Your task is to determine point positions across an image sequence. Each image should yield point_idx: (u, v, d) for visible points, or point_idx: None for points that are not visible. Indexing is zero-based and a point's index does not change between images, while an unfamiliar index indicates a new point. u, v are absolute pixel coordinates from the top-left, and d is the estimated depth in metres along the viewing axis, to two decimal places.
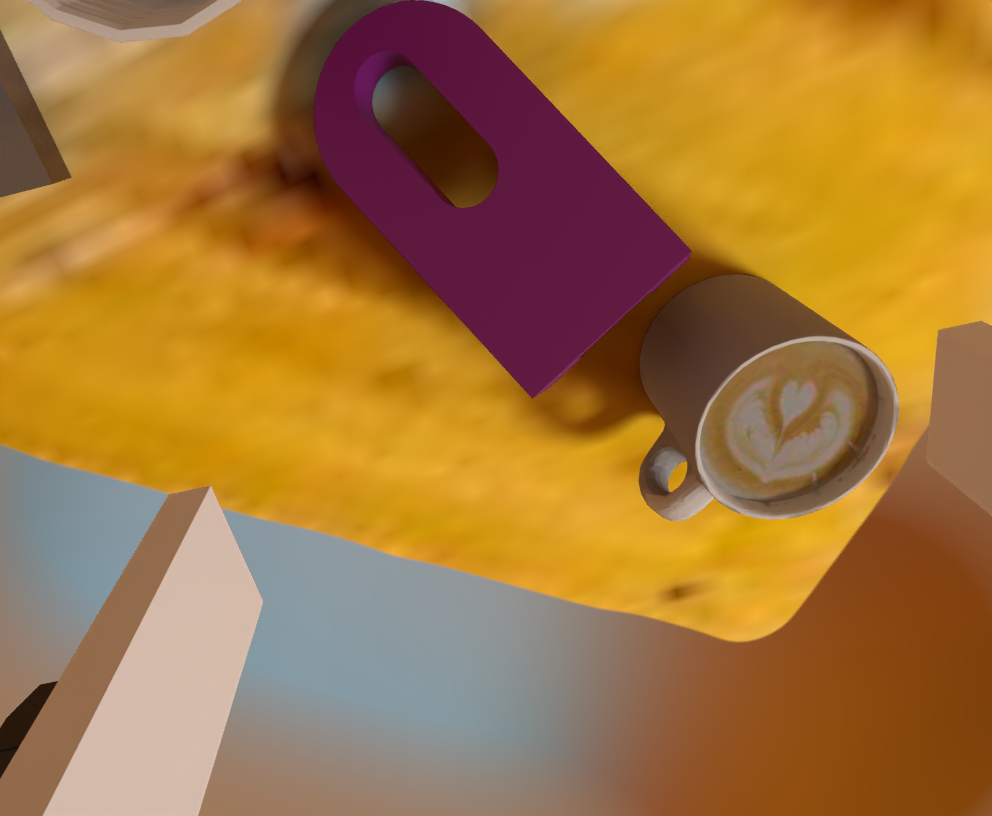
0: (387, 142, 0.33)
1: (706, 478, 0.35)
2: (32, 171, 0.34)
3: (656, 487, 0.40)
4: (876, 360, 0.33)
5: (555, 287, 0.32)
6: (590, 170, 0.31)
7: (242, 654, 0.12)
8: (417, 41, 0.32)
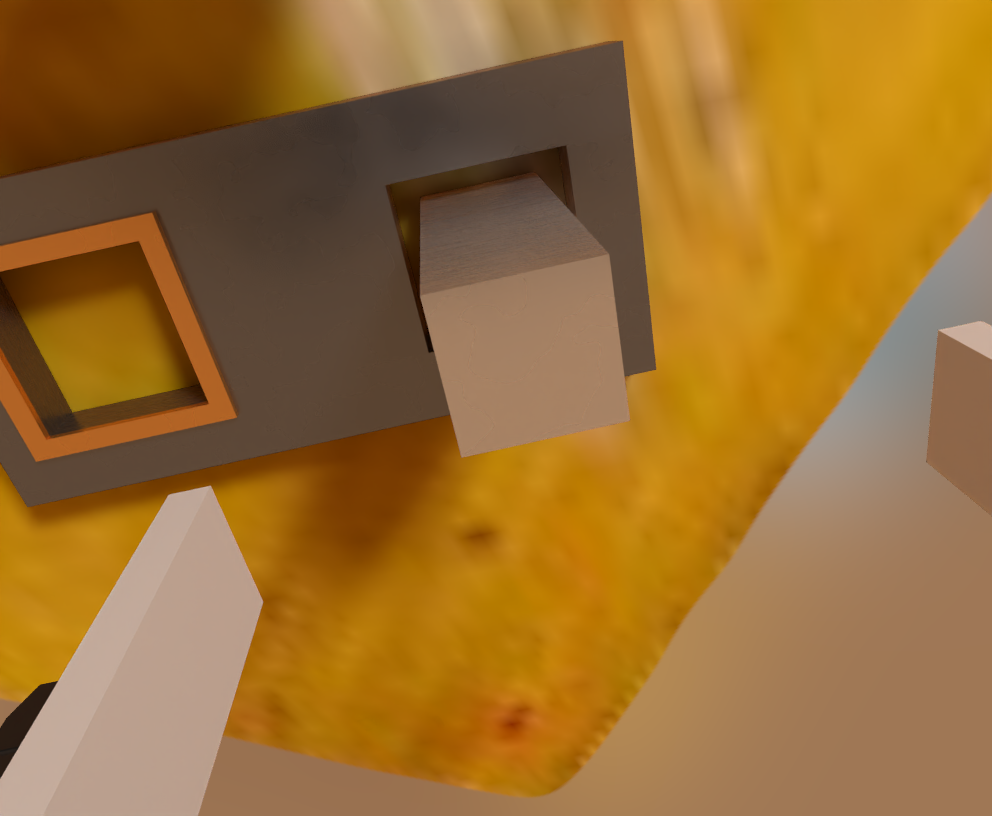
0: None
1: None
2: (603, 66, 0.24)
3: None
4: None
5: None
6: None
7: (242, 654, 0.12)
8: None
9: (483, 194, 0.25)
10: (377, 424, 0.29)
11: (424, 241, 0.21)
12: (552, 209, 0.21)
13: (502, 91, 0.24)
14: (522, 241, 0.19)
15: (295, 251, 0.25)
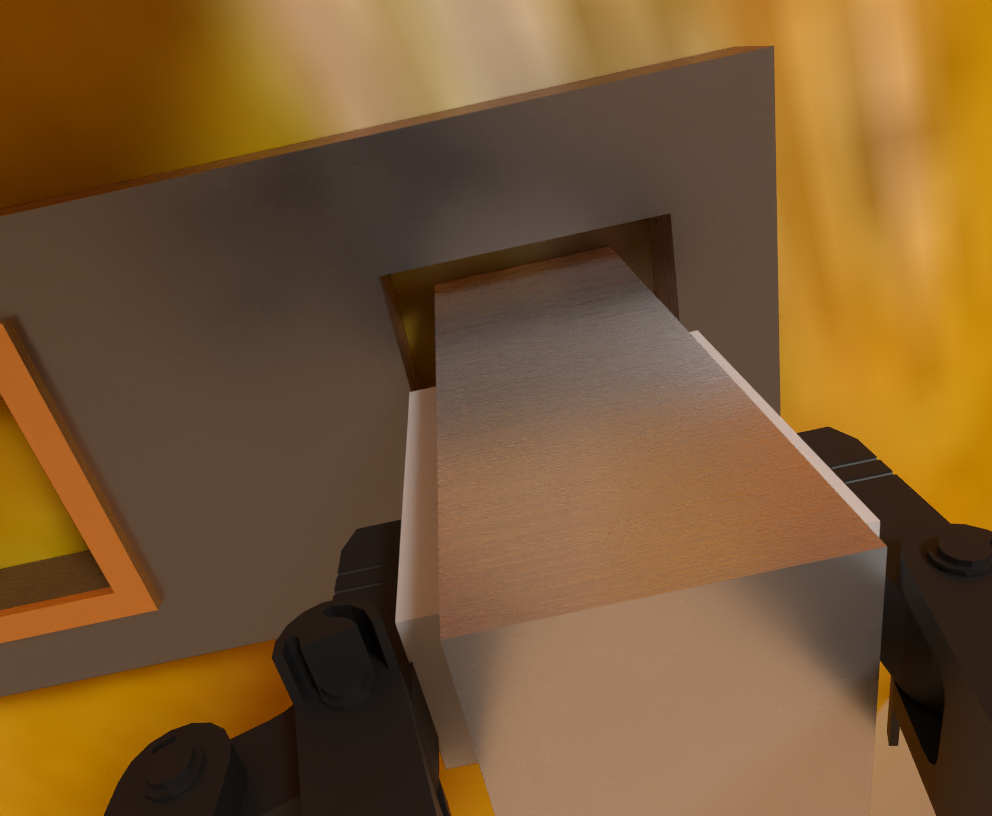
0: None
1: None
2: (739, 87, 0.14)
3: None
4: None
5: None
6: None
7: None
8: None
9: (535, 289, 0.16)
10: None
11: (444, 409, 0.11)
12: (674, 348, 0.12)
13: (571, 130, 0.14)
14: (642, 445, 0.09)
15: (237, 376, 0.16)
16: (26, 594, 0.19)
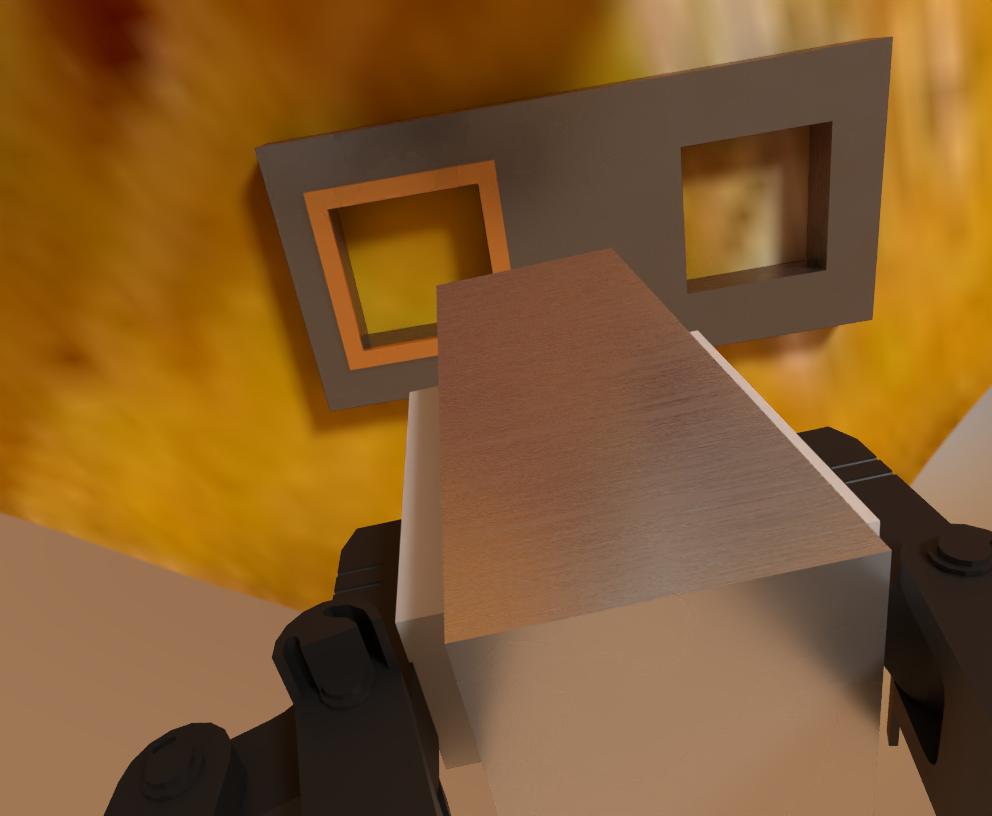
0: None
1: None
2: (874, 56, 0.29)
3: None
4: None
5: None
6: None
7: None
8: None
9: (537, 291, 0.16)
10: None
11: (447, 412, 0.11)
12: (677, 350, 0.12)
13: (789, 74, 0.29)
14: (646, 448, 0.09)
15: (597, 199, 0.31)
16: None
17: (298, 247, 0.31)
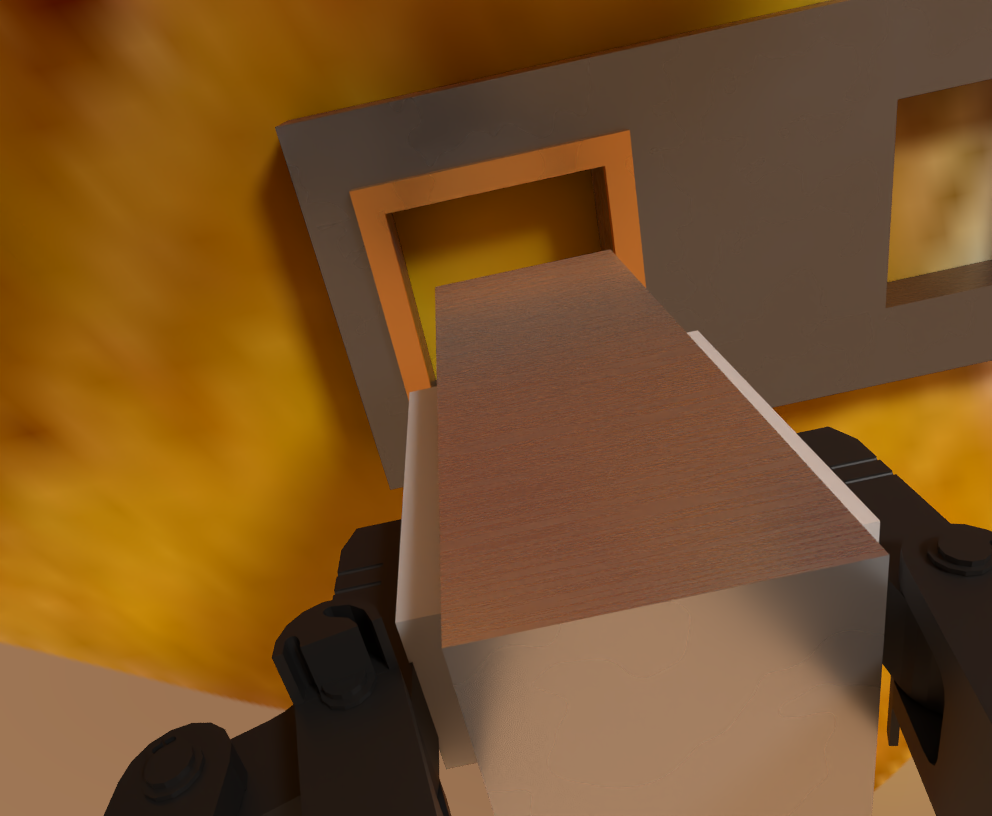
0: None
1: None
2: None
3: None
4: None
5: None
6: None
7: None
8: None
9: (536, 293, 0.16)
10: (803, 394, 0.25)
11: (445, 414, 0.11)
12: (675, 352, 0.12)
13: None
14: (644, 451, 0.09)
15: (772, 181, 0.21)
16: None
17: (343, 270, 0.21)
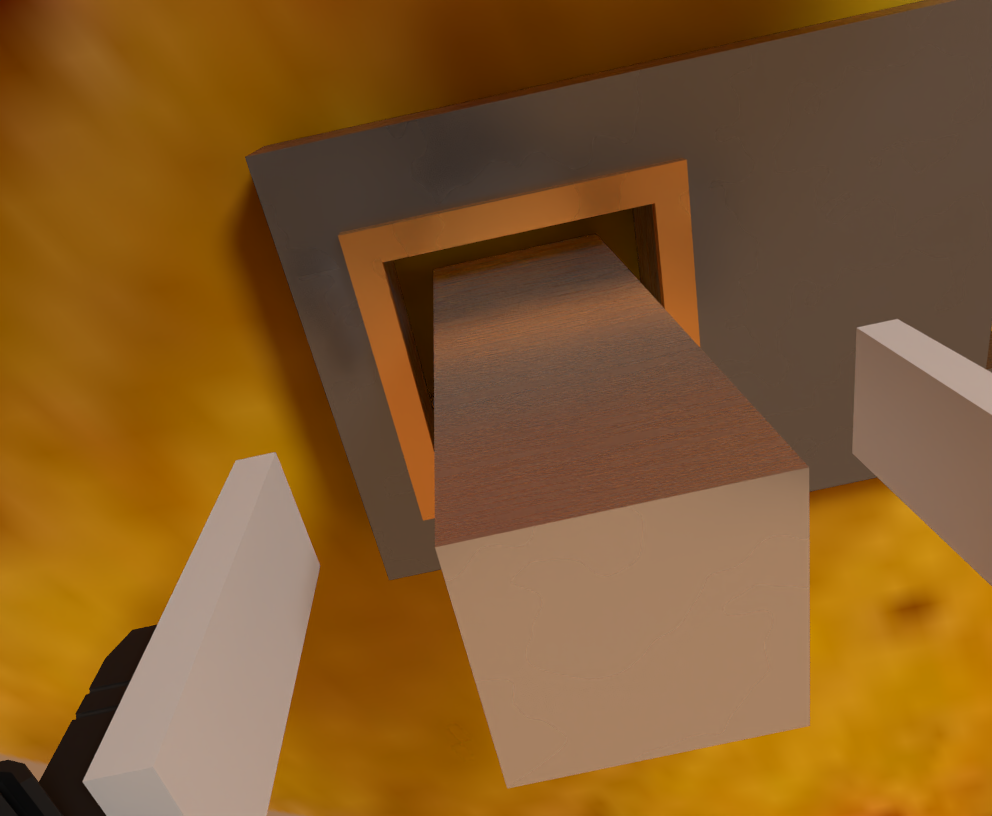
0: None
1: None
2: None
3: None
4: None
5: None
6: None
7: (306, 611, 0.13)
8: None
9: (526, 272, 0.17)
10: None
11: (441, 374, 0.13)
12: (647, 318, 0.13)
13: None
14: (612, 397, 0.11)
15: (857, 221, 0.17)
16: None
17: (331, 328, 0.17)
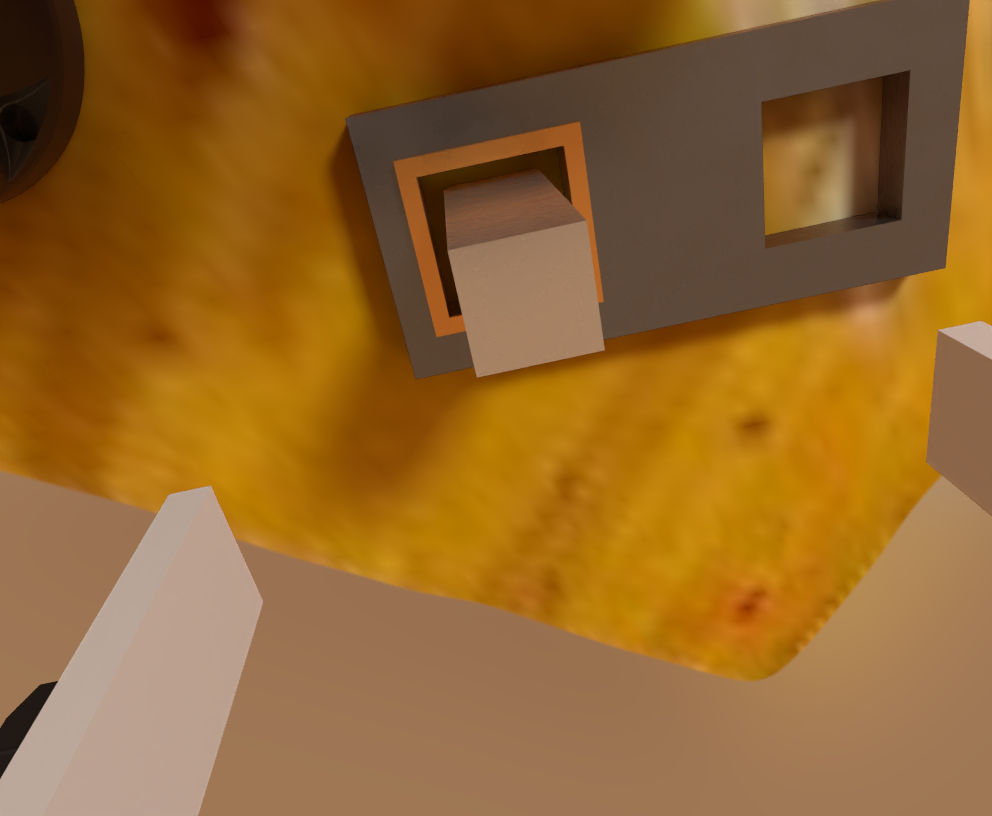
0: None
1: None
2: (952, 3, 0.29)
3: None
4: None
5: None
6: None
7: (242, 654, 0.12)
8: None
9: (495, 184, 0.31)
10: (710, 312, 0.34)
11: (448, 217, 0.27)
12: (548, 193, 0.27)
13: (868, 24, 0.29)
14: (523, 214, 0.25)
15: (678, 157, 0.31)
16: None
17: (386, 216, 0.31)
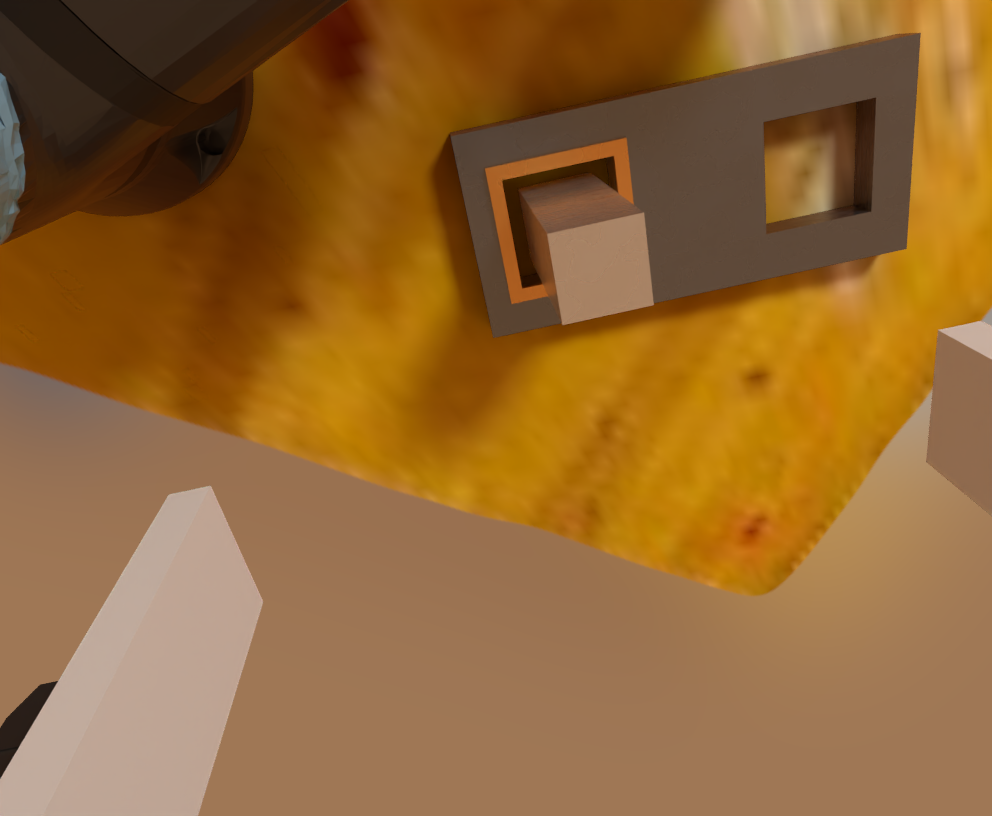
0: None
1: None
2: (906, 48, 0.39)
3: None
4: None
5: None
6: None
7: (242, 654, 0.12)
8: None
9: (560, 185, 0.41)
10: (724, 284, 0.44)
11: (535, 211, 0.36)
12: (607, 192, 0.37)
13: (844, 64, 0.39)
14: (594, 208, 0.34)
15: (700, 164, 0.41)
16: None
17: (477, 210, 0.41)
